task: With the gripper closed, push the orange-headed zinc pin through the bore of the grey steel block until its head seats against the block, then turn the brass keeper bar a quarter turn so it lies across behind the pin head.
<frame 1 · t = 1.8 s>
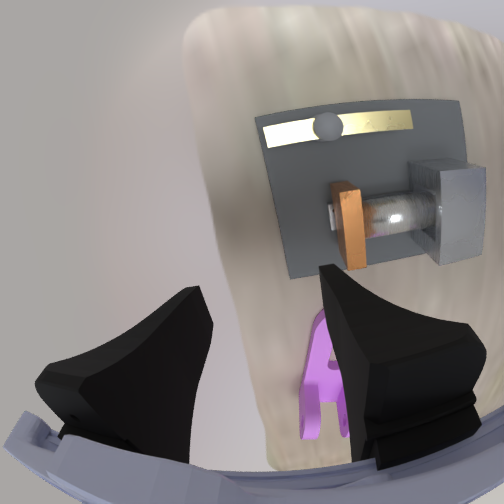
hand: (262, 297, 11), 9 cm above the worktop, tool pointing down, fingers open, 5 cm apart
bracket: (334, 352, 25), on the worktop
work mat: (383, 183, 18), on the worktop
keeper bar: (340, 125, 14), point 2 cm above the worktop, hinge at 0.0°
lynch pin: (388, 217, 16), point 3 cm above the worktop, slide at 0.0 cm
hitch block: (429, 197, 17), resting on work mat
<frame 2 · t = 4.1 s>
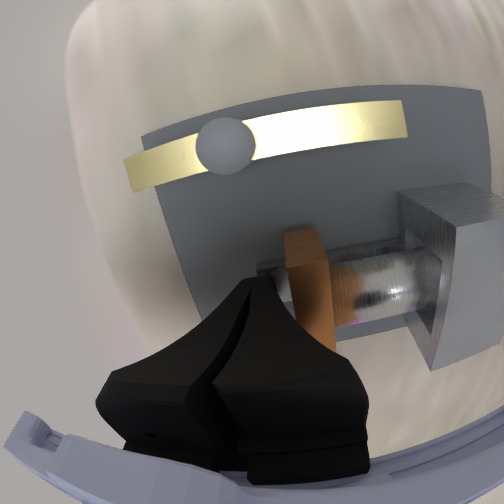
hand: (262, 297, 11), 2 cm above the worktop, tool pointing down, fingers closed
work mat: (354, 228, 11), on the worktop
keeper bar: (263, 137, 8), point 2 cm above the worktop, hinge at 0.0°
lynch pin: (382, 290, 9), point 3 cm above the worktop, slide at 1.2 cm, touching gripper
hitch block: (430, 244, 11), resting on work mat
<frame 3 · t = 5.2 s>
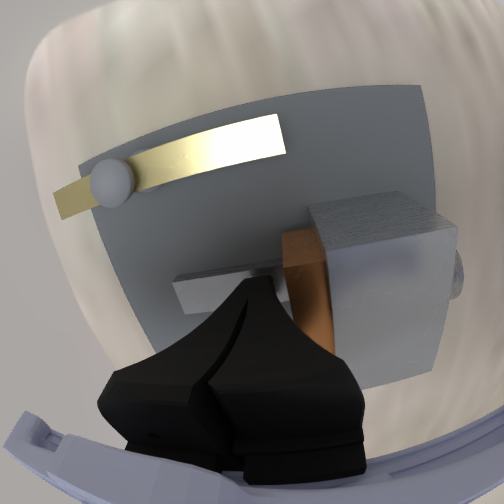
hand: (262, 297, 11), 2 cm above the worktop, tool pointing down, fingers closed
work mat: (267, 243, 12), on the worktop
keeper bar: (152, 167, 9), point 2 cm above the worktop, hinge at 0.0°
lynch pin: (380, 290, 9), point 3 cm above the worktop, slide at 5.0 cm, touching gripper, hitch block
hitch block: (358, 258, 12), resting on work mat
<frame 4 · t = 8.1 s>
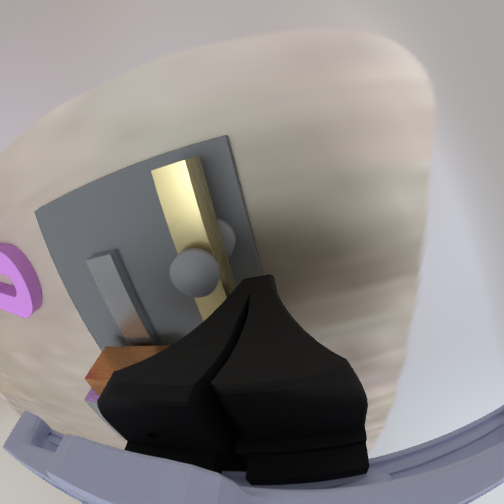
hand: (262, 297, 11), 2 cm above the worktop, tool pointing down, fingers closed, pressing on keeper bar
bracket: (0, 271, 15), on the worktop
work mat: (161, 317, 14), on the worktop
keeper bar: (212, 279, 10), point 2 cm above the worktop, hinge at 0.0°, touching gripper
lynch pin: (154, 401, 14), point 3 cm above the worktop, slide at 5.0 cm, touching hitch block
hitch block: (167, 366, 16), resting on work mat
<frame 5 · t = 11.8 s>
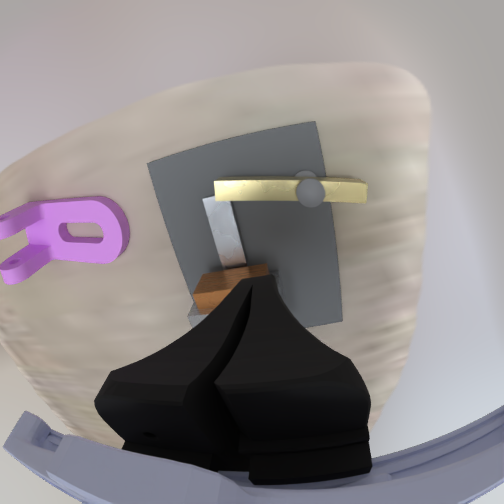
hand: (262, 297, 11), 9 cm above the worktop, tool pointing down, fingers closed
bracket: (75, 226, 22), on the worktop
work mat: (253, 246, 20), on the worktop
keeper bar: (291, 188, 16), point 2 cm above the worktop, hinge at -101.7°
lynch pin: (243, 317, 20), point 3 cm above the worktop, slide at 5.0 cm, touching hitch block
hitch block: (246, 294, 22), resting on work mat
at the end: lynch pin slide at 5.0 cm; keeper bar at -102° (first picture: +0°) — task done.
